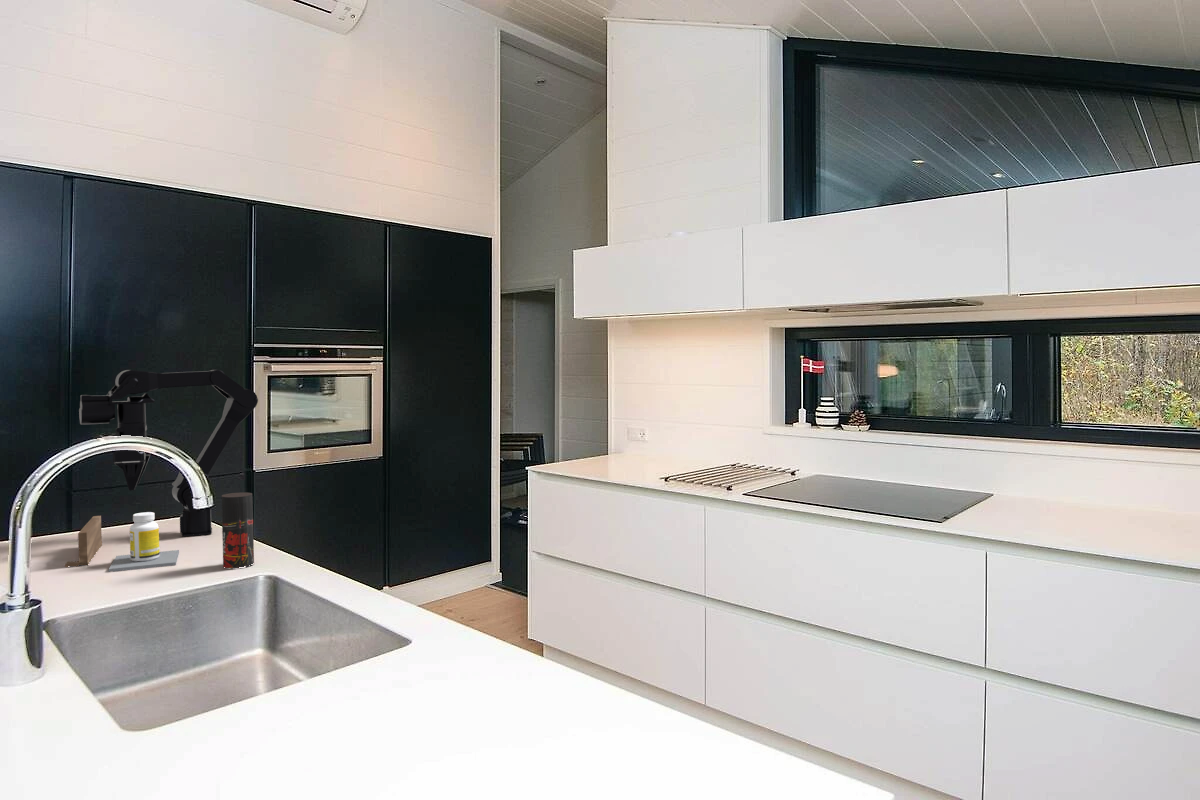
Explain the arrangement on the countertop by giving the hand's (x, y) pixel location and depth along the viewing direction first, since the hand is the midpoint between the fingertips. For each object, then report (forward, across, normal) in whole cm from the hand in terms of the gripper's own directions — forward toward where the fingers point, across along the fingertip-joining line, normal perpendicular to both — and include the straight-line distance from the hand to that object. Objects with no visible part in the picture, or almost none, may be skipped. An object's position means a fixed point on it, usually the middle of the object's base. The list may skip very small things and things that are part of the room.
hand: (133, 487), depth 183 cm
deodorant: (+13, +35, +22) cm, 43 cm away
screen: (+13, +11, -9) cm, 19 cm away
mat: (+13, +23, +4) cm, 27 cm away
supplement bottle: (+13, +23, +4) cm, 26 cm away
